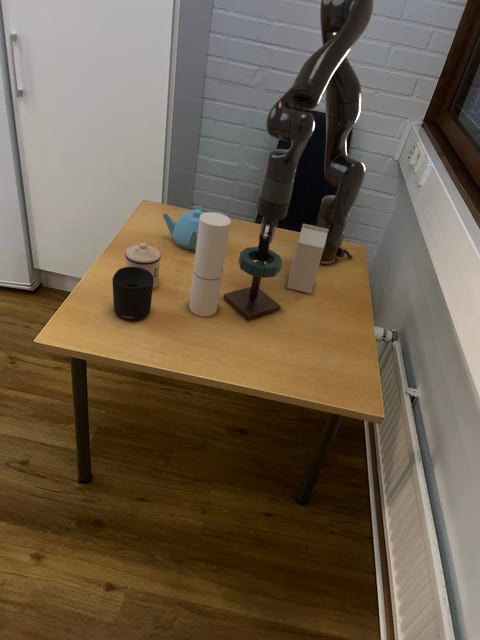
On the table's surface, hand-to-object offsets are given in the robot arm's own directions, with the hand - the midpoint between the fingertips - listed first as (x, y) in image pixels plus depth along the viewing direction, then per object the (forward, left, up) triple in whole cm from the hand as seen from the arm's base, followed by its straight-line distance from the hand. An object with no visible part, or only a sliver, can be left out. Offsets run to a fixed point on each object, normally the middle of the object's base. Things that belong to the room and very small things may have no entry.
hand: (261, 258), depth 122 cm
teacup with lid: (+24, -19, -12) cm, 33 cm away
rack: (+3, +3, -12) cm, 13 cm away
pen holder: (+33, -7, -12) cm, 36 cm away
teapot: (-1, -33, -12) cm, 35 cm away
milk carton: (-17, +1, -12) cm, 21 cm away
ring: (+3, +3, 0) cm, 4 cm away
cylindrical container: (+16, -1, -12) cm, 20 cm away
